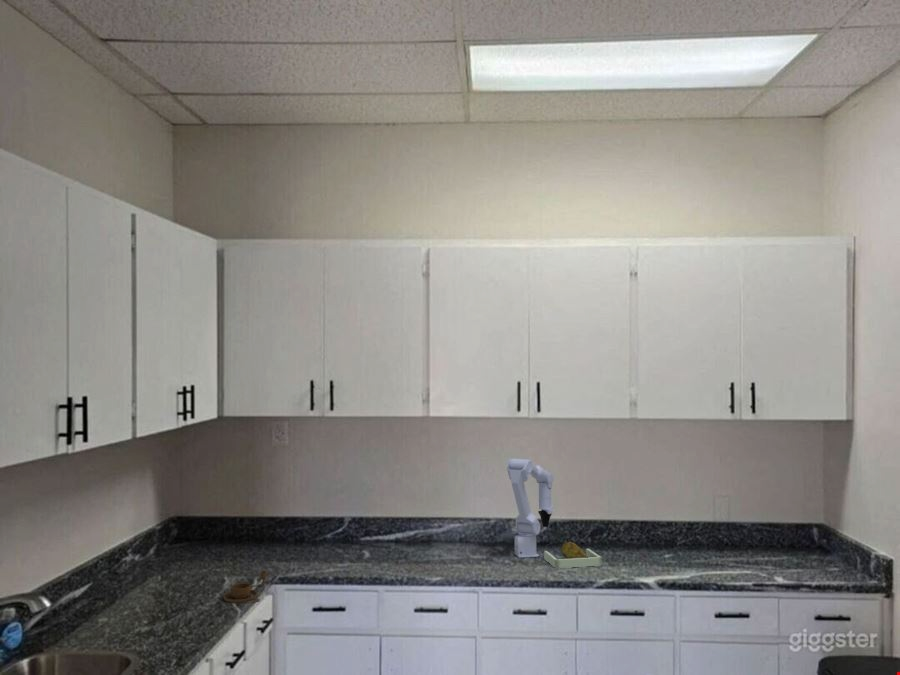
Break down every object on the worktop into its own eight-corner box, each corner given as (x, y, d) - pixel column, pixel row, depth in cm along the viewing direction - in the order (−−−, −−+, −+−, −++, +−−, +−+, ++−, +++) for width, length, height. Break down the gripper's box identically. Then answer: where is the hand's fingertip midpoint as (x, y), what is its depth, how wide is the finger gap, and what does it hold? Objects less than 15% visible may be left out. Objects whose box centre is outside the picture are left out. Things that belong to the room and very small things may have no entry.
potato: (571, 567, 289) (571, 547, 289) (558, 559, 301) (558, 540, 302) (589, 565, 291) (589, 546, 292) (576, 558, 304) (575, 539, 304)
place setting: (214, 597, 256) (214, 581, 256) (264, 585, 269) (264, 570, 269) (235, 608, 243) (235, 591, 243) (286, 596, 256) (286, 579, 256)
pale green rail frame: (555, 568, 287) (555, 560, 287) (544, 559, 302) (544, 551, 302) (602, 566, 291) (602, 557, 291) (588, 556, 306) (588, 548, 306)
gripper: (558, 499, 318) (558, 529, 317) (548, 494, 332) (548, 522, 331) (543, 500, 316) (543, 530, 316) (534, 494, 331) (534, 523, 330)
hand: (545, 526), depth 323 cm, fingers closed
